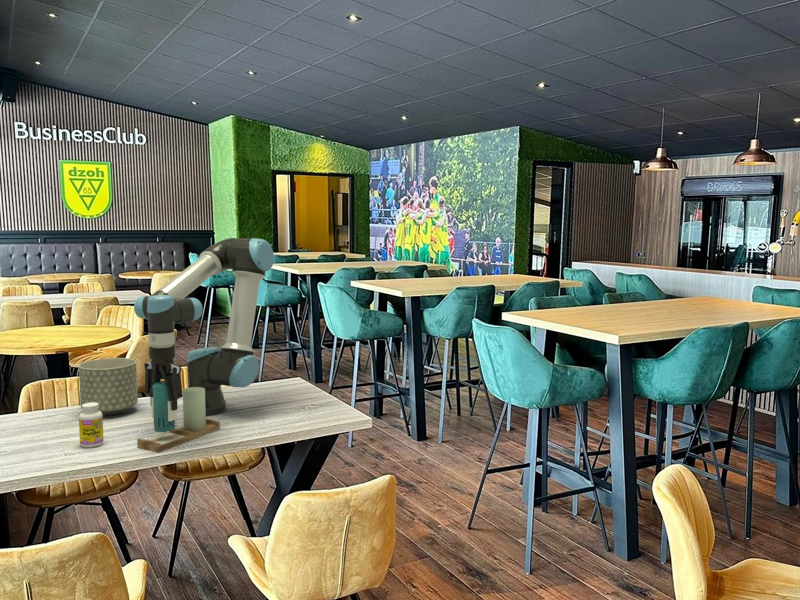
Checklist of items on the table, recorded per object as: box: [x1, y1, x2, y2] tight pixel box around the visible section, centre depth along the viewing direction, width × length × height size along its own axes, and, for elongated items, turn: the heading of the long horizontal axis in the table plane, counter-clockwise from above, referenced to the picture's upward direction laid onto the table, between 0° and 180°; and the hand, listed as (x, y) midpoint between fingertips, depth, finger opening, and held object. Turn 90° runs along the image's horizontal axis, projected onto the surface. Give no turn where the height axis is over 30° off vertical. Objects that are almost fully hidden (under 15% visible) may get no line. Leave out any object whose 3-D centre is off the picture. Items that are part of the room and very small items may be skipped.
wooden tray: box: [136, 418, 221, 453], centre depth 209 cm, size 9×26×3 cm, turn 152°
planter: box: [78, 357, 139, 416], centre depth 236 cm, size 19×19×18 cm
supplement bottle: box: [78, 402, 104, 448], centre depth 202 cm, size 7×7×13 cm
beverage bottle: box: [152, 372, 176, 433], centre depth 203 cm, size 6×7×20 cm
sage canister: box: [182, 387, 207, 432], centre depth 214 cm, size 7×7×13 cm
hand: (164, 418), depth 203 cm, fingers closed on beverage bottle, 6 cm apart
